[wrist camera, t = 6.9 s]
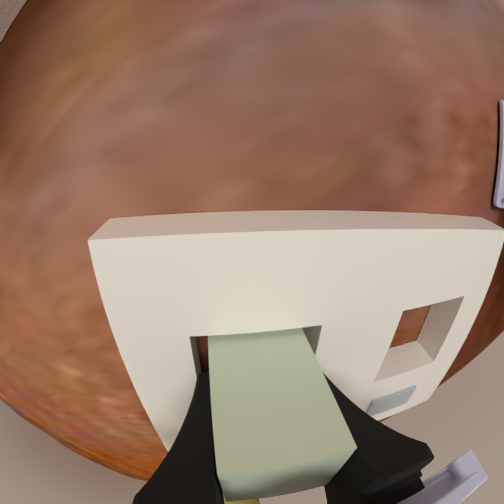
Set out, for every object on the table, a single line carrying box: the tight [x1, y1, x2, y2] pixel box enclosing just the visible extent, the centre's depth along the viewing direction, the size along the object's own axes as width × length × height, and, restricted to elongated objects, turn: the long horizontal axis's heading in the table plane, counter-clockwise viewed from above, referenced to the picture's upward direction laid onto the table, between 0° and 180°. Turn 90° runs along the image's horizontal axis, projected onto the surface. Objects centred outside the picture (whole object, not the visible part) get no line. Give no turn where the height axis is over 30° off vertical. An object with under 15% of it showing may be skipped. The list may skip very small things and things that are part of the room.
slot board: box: [88, 210, 504, 452], centre depth 14 cm, size 22×16×3 cm
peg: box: [208, 328, 357, 502], centre depth 10 cm, size 4×4×8 cm
